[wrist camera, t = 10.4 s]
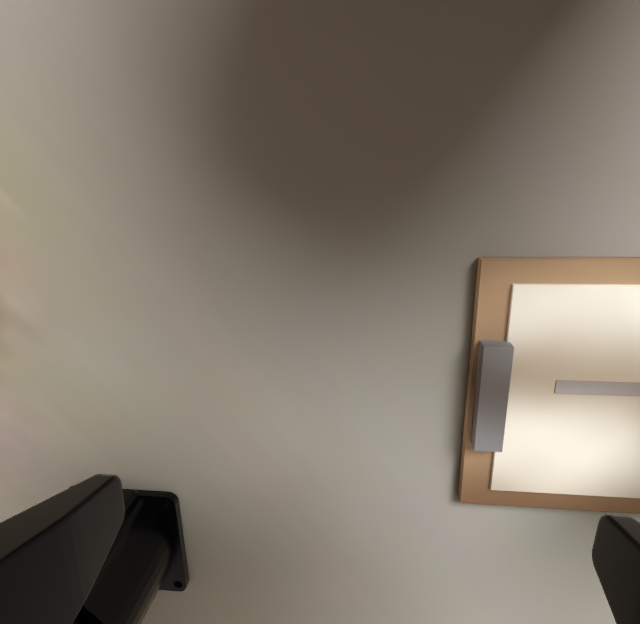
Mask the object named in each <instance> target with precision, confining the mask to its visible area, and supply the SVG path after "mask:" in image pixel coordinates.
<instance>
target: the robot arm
mask: <svg viewBox="0 0 640 624" xmlns="http://www.w3.org/2000/svg"><path fill="white" fill-rule="evenodd" d="M166 501H168V502H170V503H167V502H166ZM592 560H593V564H594V567H595V570H596V572H597V575H598V577H599V580H600V583H601V585H602V588H603V590H604V593H605V595H606V598H607V600H608V603H609V606H610V608H611V611H612V613H613V616H614V618H615V621H616V623H617V624H640V523H639V522H637V521H636V520H634V519H633V518H631V517H629V516H624V515H612V514H605V515H603V516H602V517H601V518H600V520H599V523H598V527H597V532H596V536H595V540H594V545H593V549H592ZM188 582H189V575H188V568H187V560H186V553H185V545H184V538H183V530H182V523H181V516H180V508H179V501H178V498H177V496H176V495H175V494H173V493H171V492H162V491H146V490H130V489H122V484H121V480H120V478H119V477H118V476H116V475H106V474H98V475H95V476H93V477H91V478H89V479H87V480H85V481H83V482H81V483H79V484H77V485H75V486H71V487H69V488H68V489H67V490H65V491H63V492H61V493H59V494H57V495H55V496H53V497H51V498H49V499H47V500H45V501H43V502H41V503H39V504H37V505H35V506H33V507H31V508H29V509H27V510H25V511H23V512H21V513H19V514H17V515H15V516H13V517H11V518H9V519H7V520H5V521H3V522H1V523H0V624H141V622H142V620H143V618H144V616H145V614H146V612H147V611H148V609H149V607H150V605H151V603H152V601H153V599H154V597H155V595H156V593H157V591H158V589H159V590H170V591H183V590H185V588H186V587H187V584H188Z"/></svg>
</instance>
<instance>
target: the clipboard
mask: <svg viewBox="0 0 640 624" xmlns="http://www.w3.org/2000/svg"><path fill="white" fill-rule="evenodd" d="M458 496H459V500H460V503H471V504H488V505H504V506H521V507H538V508H555V509H571V510H588V511H605V512H622V513H638V514H640V257H481V258H478V268H477V279H476V291H475V303H474V314H473V326H472V337H471V349H470V361H469V372H468V384H467V396H466V407H465V419H464V431H463V442H462V454H461V465H460V477H459V489H458Z"/></svg>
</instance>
